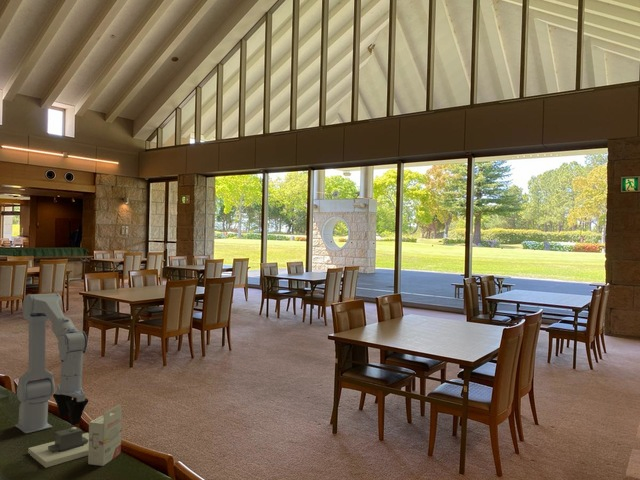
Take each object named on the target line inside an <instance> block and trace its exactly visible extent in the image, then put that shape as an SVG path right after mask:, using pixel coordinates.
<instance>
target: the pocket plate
mask: <svg viewBox="0 0 640 480" xmlns="http://www.w3.org/2000/svg"><path fill="white" fill-rule="evenodd" d="M82 437H85V438H86V439H88V443H84V444H82V446H81V447H77V448H73V449H70V450H66V451H63V452H58V451H55V452H51V451H50V450H49V449H48V446H50V445H54V444H55V440H54V441H51V442H46V443H42V444H39V445H35V446H31V447H28V448H27V454H28V453H29V454H30V455H29V454H28V455H29V456H31V457H32V458H33V459H34V460H35V461H37V463H39V464H40V465H42V466H43V467H44V468H47V469H48V468H49V467H53V466H56V465H59V464H64V463H67V462H69V461H73V460H77V459H80V458H83V457H84V458H85V457H88V450H89V432H85V433H82Z"/></svg>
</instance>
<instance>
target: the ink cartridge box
mask: <svg viewBox="0 0 640 480" xmlns="http://www.w3.org/2000/svg"><path fill="white" fill-rule="evenodd" d="M122 412H123V411H122V404H121V403H120V404H118V405H116V406H114V407H111V408H110V409H108V410H106V411H104V412H103V415H101V416H99V417H97V418H95V419H93V420H91V421H89V422H88V433H89V450H88V456H87V457H88V459H87V463H88V465H93V466H99V467H103V466H105V465H106V464H108V463H109V462H111V461H112V460H115V458H117V457H118V456H120V454H121V452H122V424H123V423H122V422H123V414H122Z"/></svg>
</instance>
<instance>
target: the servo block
mask: <svg viewBox="0 0 640 480" xmlns="http://www.w3.org/2000/svg"><path fill="white" fill-rule="evenodd" d="M54 433H55V435H54V441H55V444H54V445H50V446H48V449H49V450H50V451H51V452H55V451H58V452H63V451H66V450H70V449H73V448H77V447H81V446H82V444H84V443H88V439H86V438H85V437H82V434H83V430H82V429H81V428H79V427H77V426H73V427H69V428H66V429H62V430H58V431H55V432H54Z"/></svg>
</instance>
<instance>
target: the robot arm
mask: <svg viewBox="0 0 640 480" xmlns="http://www.w3.org/2000/svg"><path fill="white" fill-rule="evenodd" d="M62 305H63V300H62V295H60V293H58V292H54V293H53V292H52V293H35V294H32V293H28V294H26V295H25V297H24V299H23V301H22V317H23V319H24V320H27V321H28V322H27V323H28V363H27V364H28V369H27V371H26V372H24V373H23V374H22V375H20V376H19V377H18V380H17V381H18V382H17V383H18V384H17V387H16V397H17V399H18V401H19V402H20V404H19V408H18V409H19V410H18V411H19V412H18V423H16V424H15V427H16V428H18V429H19V430H20V431H22V432H23V433H24V434H30V433H33V432H38V431H42V430H46V429H51V428H53V425H51V424H50V423H48V416H49V415H48V413H49V412H48V411H49V400H51V397H53V398H54V400H55V404H56V407H57V410H58V416H59V418H60V419H63V418H68V417H69V422H70V425H71V426H75V425H78V424H80V422H81V418H82V415H83V411H84V410H85V407H86V406H87V404H88V403H89V399H88V398H87V397H86V393H85V392H84V389H83V387H82V385H83V363H84V352H85V351H86V349H87V347H88V336H87V334H86V331H84V330H82V331H81V330H78V329H77V327H76V325H75V324H74V322H73V321H72V319H71V318H70V317H66V316H65V315H64V312H63V310H62ZM48 320H49V321H50V322H51V323H52V325H51V330H52V333H53V334H54V336H55V338H56V339H57V340H58V341H57V349H58V356H59V360H60V373H59V374H60V377H59V378H60V379H59V383H58V384H56V383H55V380H54V374H53V373H52V372H51V371H49V370H48V369H46V340H47V339H46V333H47V332H46V326H47V323H46V322H47V321H48Z"/></svg>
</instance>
